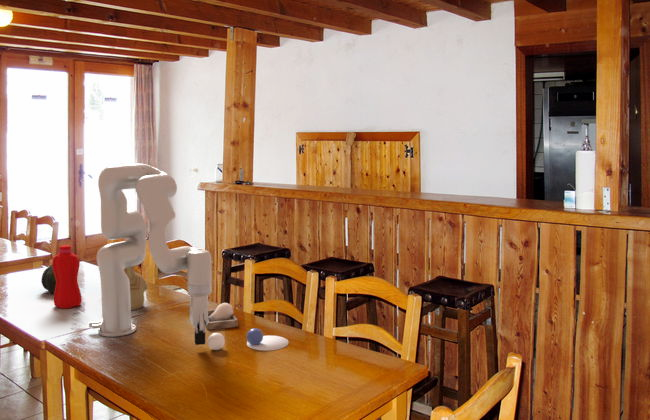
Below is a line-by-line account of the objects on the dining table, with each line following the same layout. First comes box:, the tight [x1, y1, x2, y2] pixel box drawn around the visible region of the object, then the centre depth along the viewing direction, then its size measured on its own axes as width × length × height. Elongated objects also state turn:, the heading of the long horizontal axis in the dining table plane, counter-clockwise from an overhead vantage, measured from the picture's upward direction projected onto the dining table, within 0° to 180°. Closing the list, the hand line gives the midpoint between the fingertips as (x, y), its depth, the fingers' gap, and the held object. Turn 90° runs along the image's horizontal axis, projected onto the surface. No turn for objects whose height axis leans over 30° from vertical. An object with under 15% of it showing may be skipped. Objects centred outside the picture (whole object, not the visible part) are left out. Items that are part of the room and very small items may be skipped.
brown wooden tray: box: [205, 308, 239, 331], centre depth 220 cm, size 11×16×2 cm
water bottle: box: [51, 244, 82, 310], centre depth 239 cm, size 9×11×25 cm
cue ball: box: [207, 332, 226, 351], centre depth 192 cm, size 6×6×6 cm
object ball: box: [246, 327, 264, 345], centre depth 196 cm, size 6×6×6 cm
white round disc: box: [246, 335, 290, 352], centre depth 198 cm, size 14×14×1 cm
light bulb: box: [208, 302, 234, 322], centre depth 220 cm, size 7×7×11 cm
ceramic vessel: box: [124, 266, 148, 311], centre depth 237 cm, size 17×20×25 cm
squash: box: [41, 264, 56, 295], centre depth 262 cm, size 14×15×15 cm
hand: (200, 343), depth 191 cm, fingers closed
